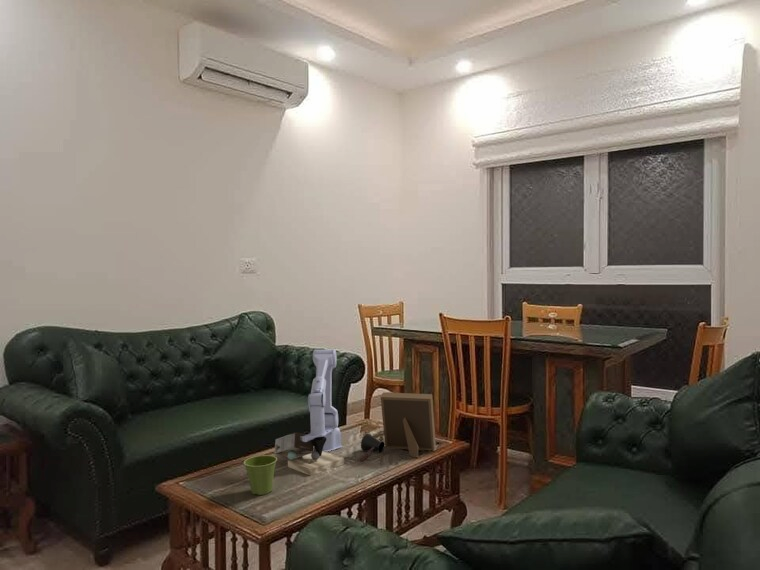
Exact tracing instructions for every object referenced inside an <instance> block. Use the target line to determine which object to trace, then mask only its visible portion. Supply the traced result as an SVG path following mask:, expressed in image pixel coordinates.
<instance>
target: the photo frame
mask: <svg viewBox="0 0 760 570" xmlns="http://www.w3.org/2000/svg"><path fill="white" fill-rule="evenodd" d="M380 405H381V416H382V425H383V437H384V444H385V446H384V449H395V450H408V453H409V457H412V456H414V457H413V458H415V457H418V458H419V451H424V450H434V449H435V450H436V447H437V445H436V444H437V443H436V442H437V441H436V440H437V439H436V429H435V428H436V427H435V417H434V416H435V414H434V400H433V394H432V393H412V392H411V393H407V392H384V391H383V392H382V394H381V396H380ZM435 450H434V451H435Z"/></svg>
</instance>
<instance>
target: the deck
mask: <svg viewBox="0 0 760 570" xmlns="http://www.w3.org/2000/svg"><path fill="white" fill-rule="evenodd" d="M311 454H312V452H310V453H307V454H304V455H302V456H301V455H300V456H299V457H296V458H295V459H294V460H289V459H288V460H287V467H288V468H290V469H293V470H295V471H297V472H300V473H303V474H306V475H308V476H310V477H311V476H315V475H317V474H320V473H323V472H326V471H329V470H332V469H336V468H338V467H340V466H343V465H345V457H342V456H339V455H336V454H333V453H329V452H324V451H322V454H321V456H320V457H319V458H318V459H317V460H314V459H312V457H311Z"/></svg>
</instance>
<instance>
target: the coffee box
mask: <svg viewBox="0 0 760 570" xmlns="http://www.w3.org/2000/svg"><path fill="white" fill-rule="evenodd" d="M305 435H307V434H306V433H301V432H293V433H292V432H291V433H290V434H286V435H284V436H282V437H279V438H275V443H274V455H278V456H285V457H288V453H289V452H291V451H293V452H295V453H296V457H297V456H301V455H306V454H309V453H312V452H314V446H313V444H312V442H311V441H310V440H309V441H307V442H303V441H302V436H305Z"/></svg>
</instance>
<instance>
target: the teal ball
mask: <svg viewBox="0 0 760 570" xmlns="http://www.w3.org/2000/svg"><path fill="white" fill-rule="evenodd" d="M295 458H297V456H296V453H295V452H293V451H291V452H289V453H288V456H287V459H288V460H294V459H295Z"/></svg>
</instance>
